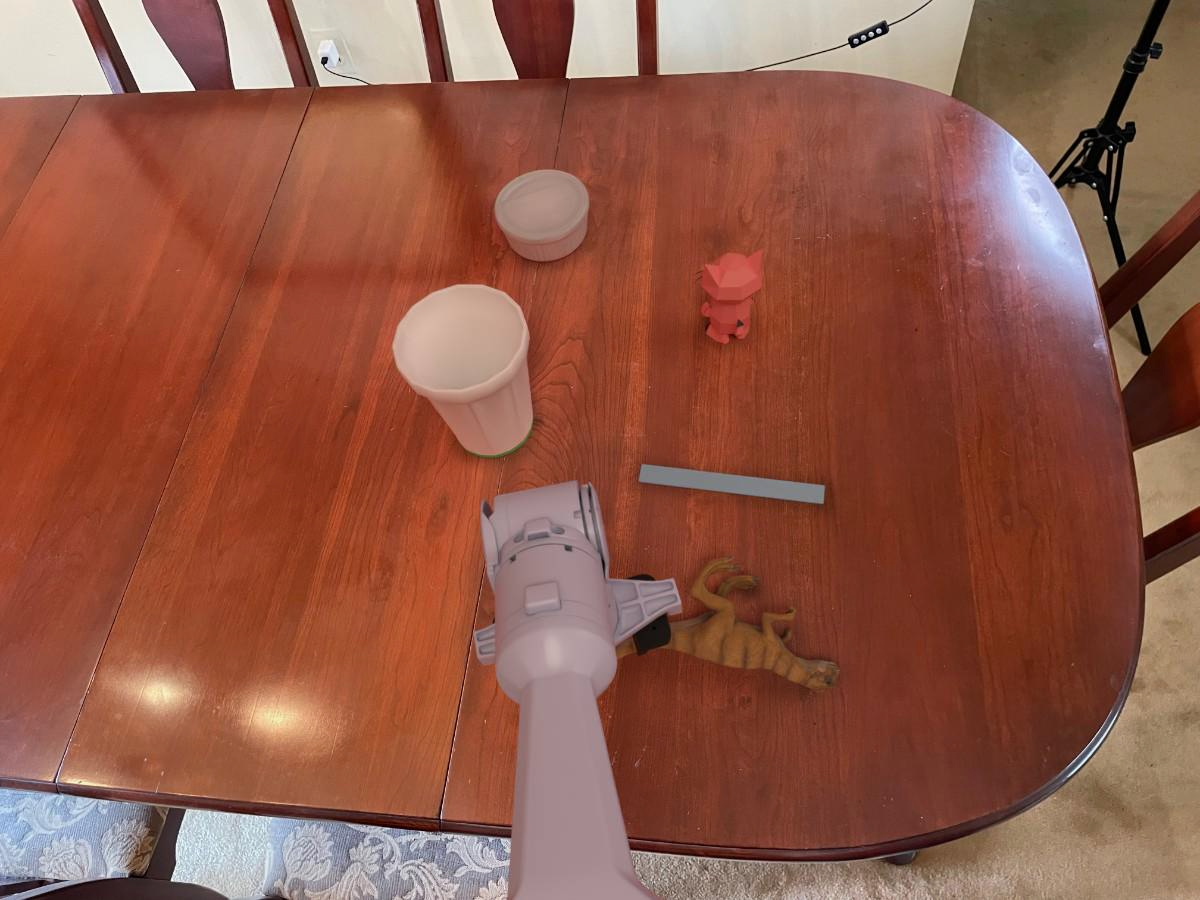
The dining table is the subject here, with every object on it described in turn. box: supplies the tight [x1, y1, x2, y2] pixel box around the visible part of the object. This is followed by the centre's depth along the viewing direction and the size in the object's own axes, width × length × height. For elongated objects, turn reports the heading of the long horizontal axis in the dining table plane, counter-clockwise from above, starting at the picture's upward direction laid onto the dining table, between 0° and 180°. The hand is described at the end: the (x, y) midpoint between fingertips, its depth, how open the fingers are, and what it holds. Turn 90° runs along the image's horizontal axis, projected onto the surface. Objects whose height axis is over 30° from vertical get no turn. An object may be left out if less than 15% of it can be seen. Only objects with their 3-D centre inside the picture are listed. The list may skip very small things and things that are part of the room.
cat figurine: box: [692, 247, 764, 345], centre depth 87 cm, size 7×7×12 cm
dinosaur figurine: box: [615, 556, 840, 694], centre depth 73 cm, size 7×22×12 cm
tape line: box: [637, 463, 826, 505], centre depth 83 cm, size 2×18×1 cm, turn 79°
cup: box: [391, 283, 535, 459], centre depth 83 cm, size 12×12×15 cm
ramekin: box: [493, 169, 590, 263], centre depth 100 cm, size 11×11×5 cm
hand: (591, 655), depth 66 cm, fingers open, 7 cm apart
